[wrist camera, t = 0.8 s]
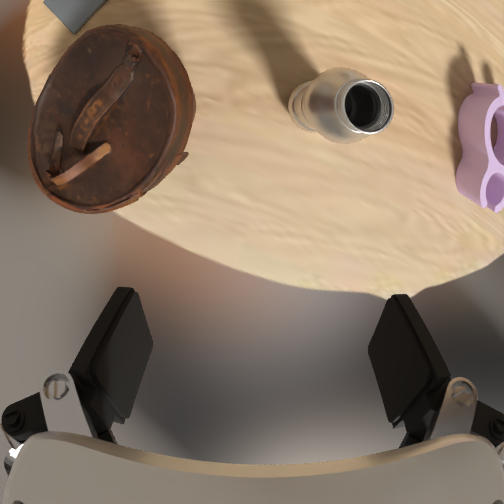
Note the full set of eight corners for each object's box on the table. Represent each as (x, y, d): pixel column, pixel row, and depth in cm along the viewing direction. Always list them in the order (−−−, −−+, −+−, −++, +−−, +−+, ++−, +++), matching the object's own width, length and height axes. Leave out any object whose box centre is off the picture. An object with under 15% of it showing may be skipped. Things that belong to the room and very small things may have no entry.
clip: (485, 202, 36) (508, 217, 30) (442, 187, 36) (466, 202, 30) (504, 104, 26) (530, 110, 20) (461, 75, 26) (489, 76, 20)
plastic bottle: (276, 115, 32) (298, 123, 15) (301, 73, 29) (349, 38, 12) (319, 139, 34) (381, 176, 16) (344, 99, 30) (427, 98, 13)
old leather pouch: (92, 176, 36) (15, 224, 21) (105, 50, 26) (22, 33, 11) (200, 190, 38) (163, 254, 22) (226, 51, 28) (201, 4, 12)
